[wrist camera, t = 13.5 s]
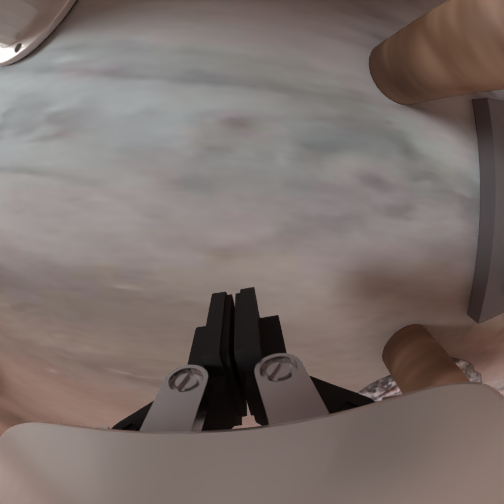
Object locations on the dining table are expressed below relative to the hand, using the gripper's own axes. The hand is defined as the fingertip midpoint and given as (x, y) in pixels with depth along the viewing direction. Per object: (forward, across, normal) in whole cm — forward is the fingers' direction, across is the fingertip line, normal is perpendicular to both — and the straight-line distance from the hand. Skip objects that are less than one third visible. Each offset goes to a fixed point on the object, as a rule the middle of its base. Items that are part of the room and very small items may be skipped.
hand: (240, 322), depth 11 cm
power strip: (+8, -25, 0) cm, 27 cm away
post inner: (+9, -13, -11) cm, 19 cm away
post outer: (+8, -13, +12) cm, 20 cm away
